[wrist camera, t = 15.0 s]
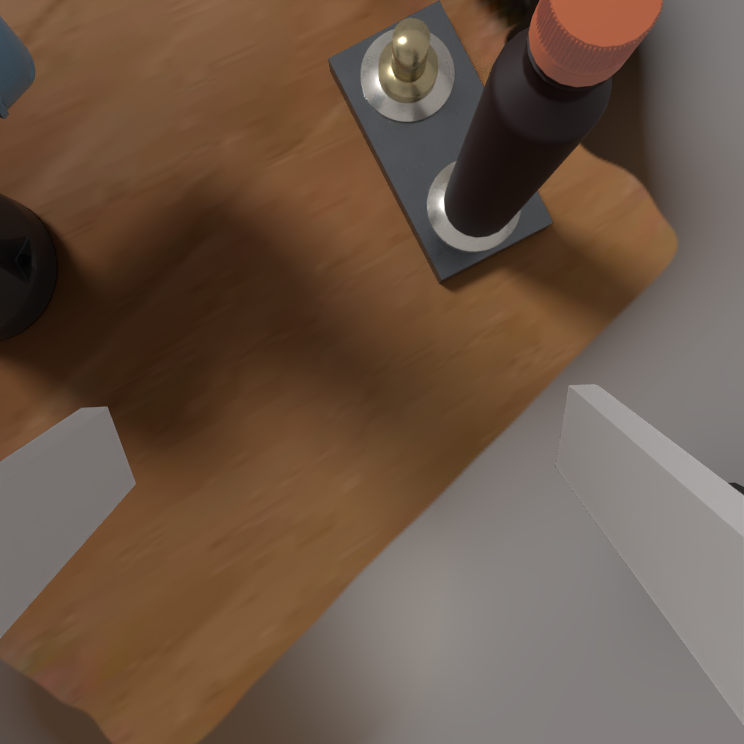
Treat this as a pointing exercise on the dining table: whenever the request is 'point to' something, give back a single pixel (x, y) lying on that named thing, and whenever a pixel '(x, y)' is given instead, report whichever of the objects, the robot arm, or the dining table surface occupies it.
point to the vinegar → (540, 105)
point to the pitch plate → (424, 130)
